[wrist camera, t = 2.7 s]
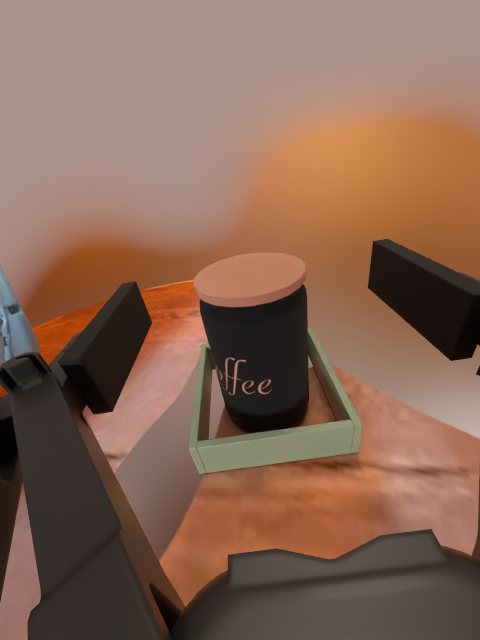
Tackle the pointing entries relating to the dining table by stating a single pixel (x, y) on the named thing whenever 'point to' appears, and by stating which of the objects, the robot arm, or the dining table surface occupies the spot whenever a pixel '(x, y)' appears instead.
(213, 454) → the tray
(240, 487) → the dining table surface
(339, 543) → the dining table surface
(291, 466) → the dining table surface
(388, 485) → the dining table surface
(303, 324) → the coffee jar
